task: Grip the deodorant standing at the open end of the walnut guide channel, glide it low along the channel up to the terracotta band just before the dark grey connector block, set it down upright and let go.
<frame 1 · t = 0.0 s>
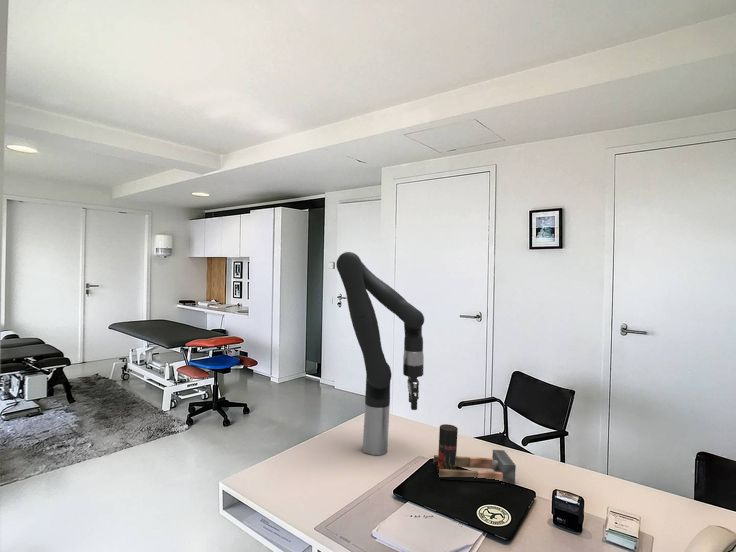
hand: (412, 405, 148), 17 cm above the table, tool pointing down, fingers open, 8 cm apart
guide channel: (470, 473, 133), on the table
deodorant: (446, 472, 133), on the table
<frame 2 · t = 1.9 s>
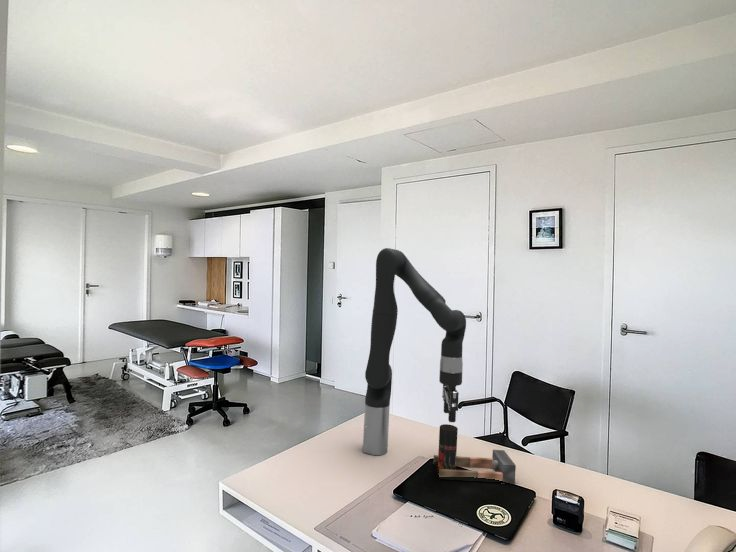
hand: (449, 417, 134), 18 cm above the table, tool pointing down, fingers open, 8 cm apart
nothing on the table moved.
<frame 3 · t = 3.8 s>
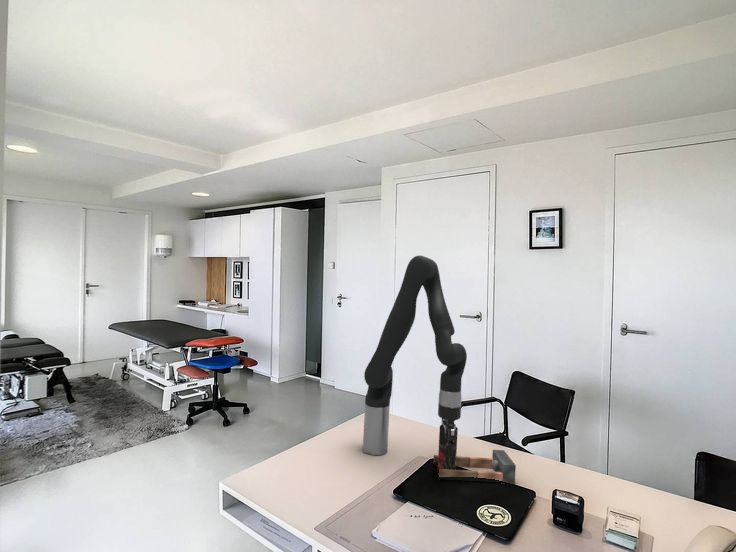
hand: (447, 452, 133), 7 cm above the table, tool pointing down, fingers closed on deodorant, 6 cm apart
deodorant: (446, 472, 133), on the table, touching gripper
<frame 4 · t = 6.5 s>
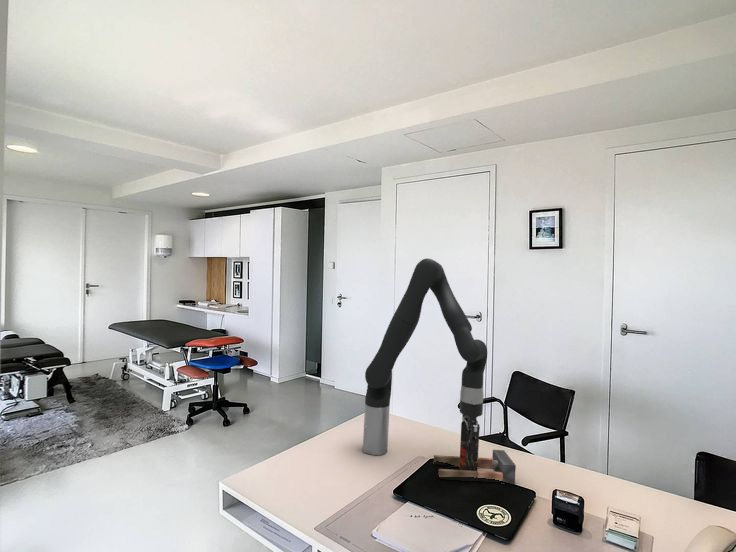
hand: (469, 449, 133), 8 cm above the table, tool pointing down, fingers closed on deodorant, 6 cm apart
deodorant: (468, 469, 133), point 1 cm above the table, touching gripper
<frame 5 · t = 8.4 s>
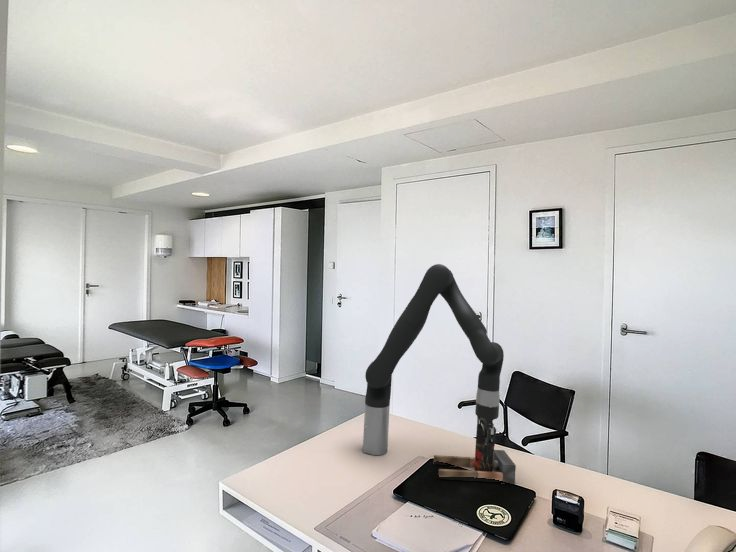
hand: (484, 451, 133), 8 cm above the table, tool pointing down, fingers closed on deodorant, 6 cm apart
deodorant: (483, 471, 133), point 1 cm above the table, touching gripper, guide channel
when the fingers open (7 cm above the table, at t = 9.2 s): deodorant stays where it is, on the table.
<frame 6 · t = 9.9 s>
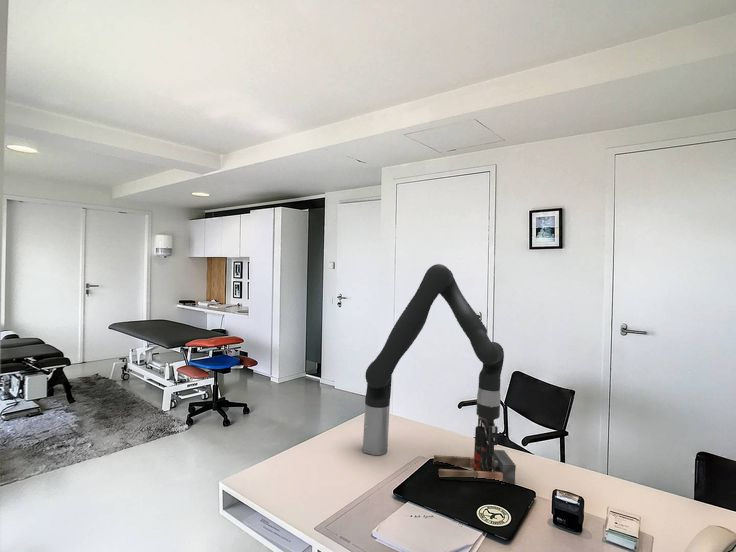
hand: (486, 450, 133), 8 cm above the table, tool pointing down, fingers open, 8 cm apart
deodorant: (482, 474, 133), on the table
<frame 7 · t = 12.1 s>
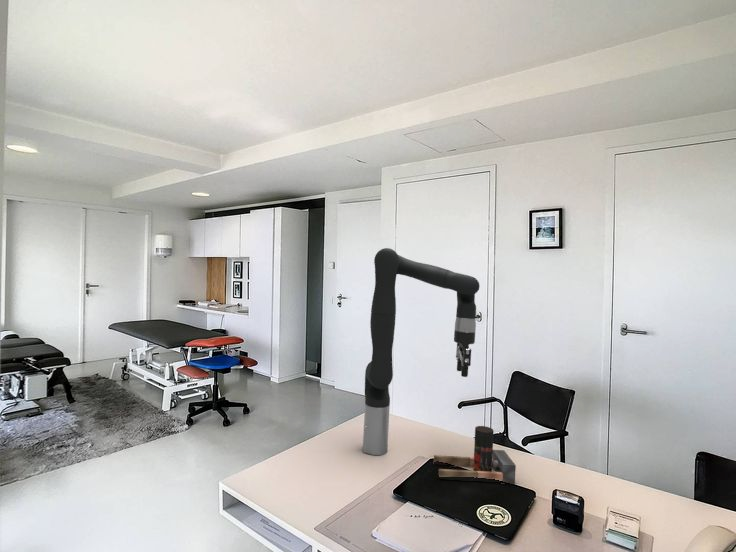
hand: (461, 373, 146), 30 cm above the table, tool pointing down, fingers open, 8 cm apart
nothing on the table moved.
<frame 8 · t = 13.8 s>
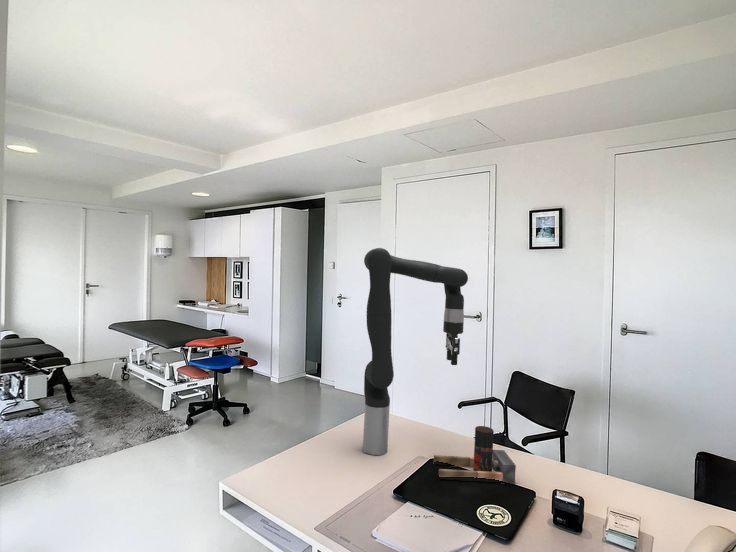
hand: (451, 362, 153), 33 cm above the table, tool pointing down, fingers open, 8 cm apart
nothing on the table moved.
at the end: deodorant 0.9 cm from the target spot, on the table; deodorant tilted 0°; the gripper is holding nothing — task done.
